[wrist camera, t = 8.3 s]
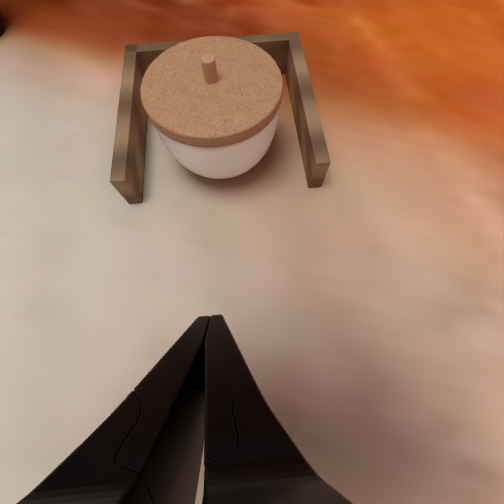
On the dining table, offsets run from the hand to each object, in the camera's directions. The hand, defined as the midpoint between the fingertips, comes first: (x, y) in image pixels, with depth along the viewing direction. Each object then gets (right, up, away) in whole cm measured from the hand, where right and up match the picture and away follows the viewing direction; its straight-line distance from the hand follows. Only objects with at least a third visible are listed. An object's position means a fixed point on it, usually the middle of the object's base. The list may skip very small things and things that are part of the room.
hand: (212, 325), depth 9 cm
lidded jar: (-1, +13, +18) cm, 22 cm away
